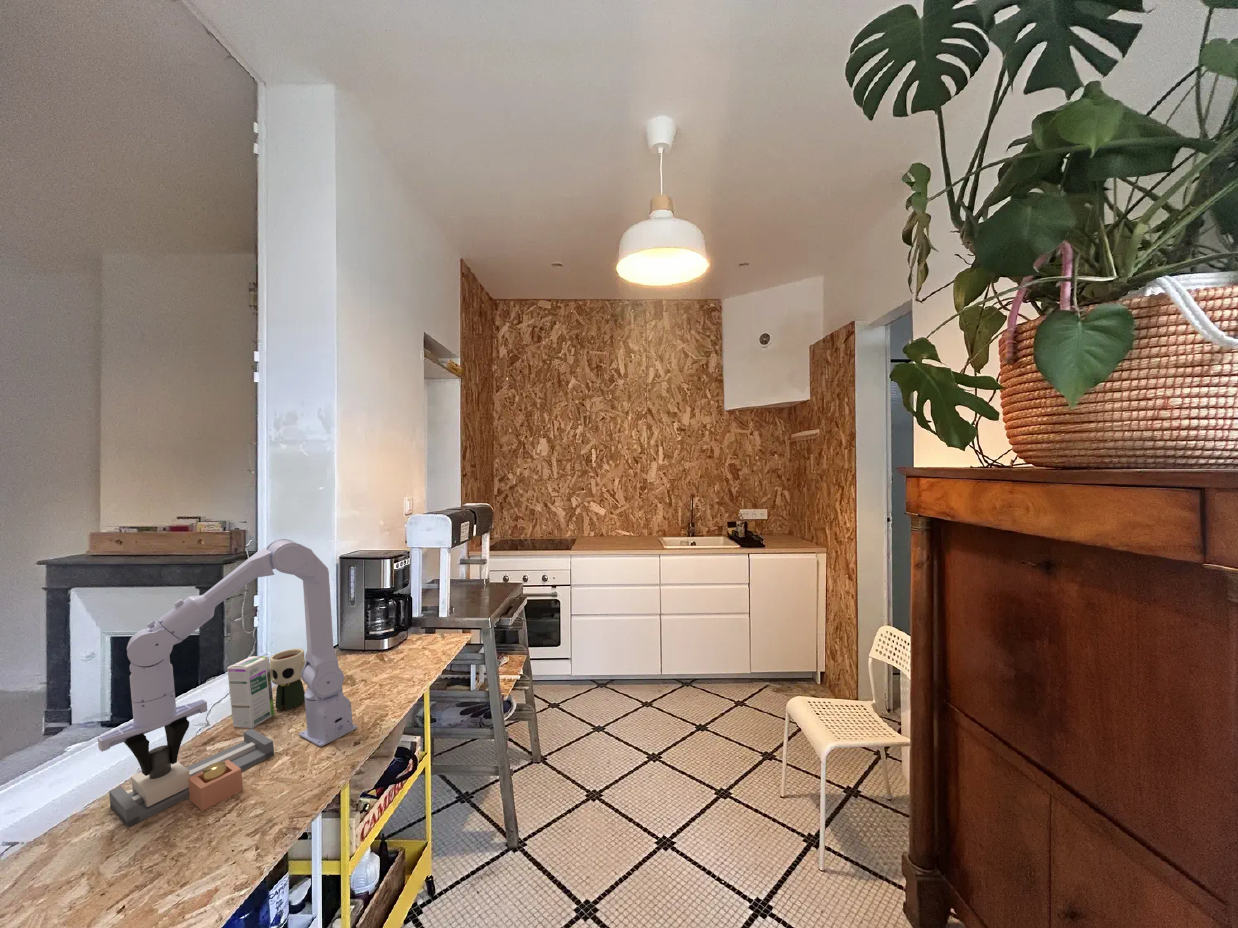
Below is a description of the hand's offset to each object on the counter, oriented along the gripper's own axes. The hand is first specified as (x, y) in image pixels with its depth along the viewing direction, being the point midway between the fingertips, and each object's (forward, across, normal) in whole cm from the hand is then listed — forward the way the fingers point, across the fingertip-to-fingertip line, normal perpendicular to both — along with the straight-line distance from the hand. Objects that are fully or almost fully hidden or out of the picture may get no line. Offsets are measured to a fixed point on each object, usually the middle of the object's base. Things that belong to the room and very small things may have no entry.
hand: (159, 767), depth 90 cm
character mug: (+6, -28, -15) cm, 32 cm away
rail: (+5, -5, 0) cm, 7 cm away
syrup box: (+6, -20, -15) cm, 26 cm away
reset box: (+5, -5, +9) cm, 12 cm away
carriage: (+4, 0, 0) cm, 4 cm away
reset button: (+3, -5, +9) cm, 11 cm away
